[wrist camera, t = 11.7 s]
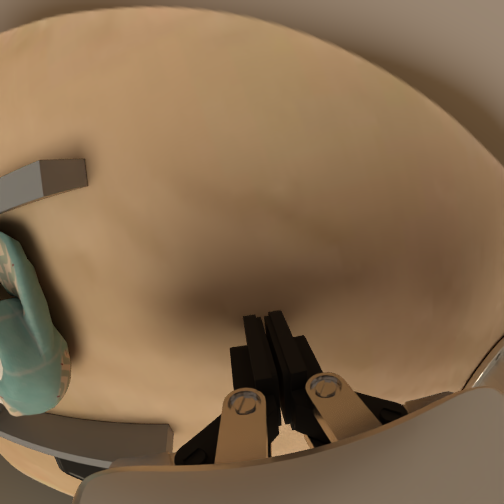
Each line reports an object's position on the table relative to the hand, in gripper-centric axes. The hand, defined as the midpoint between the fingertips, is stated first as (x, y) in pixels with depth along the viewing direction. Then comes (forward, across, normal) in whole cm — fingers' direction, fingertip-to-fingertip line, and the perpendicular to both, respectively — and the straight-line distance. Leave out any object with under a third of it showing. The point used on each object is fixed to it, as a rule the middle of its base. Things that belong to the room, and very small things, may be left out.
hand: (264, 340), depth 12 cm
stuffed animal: (+2, +15, -3) cm, 15 cm away
